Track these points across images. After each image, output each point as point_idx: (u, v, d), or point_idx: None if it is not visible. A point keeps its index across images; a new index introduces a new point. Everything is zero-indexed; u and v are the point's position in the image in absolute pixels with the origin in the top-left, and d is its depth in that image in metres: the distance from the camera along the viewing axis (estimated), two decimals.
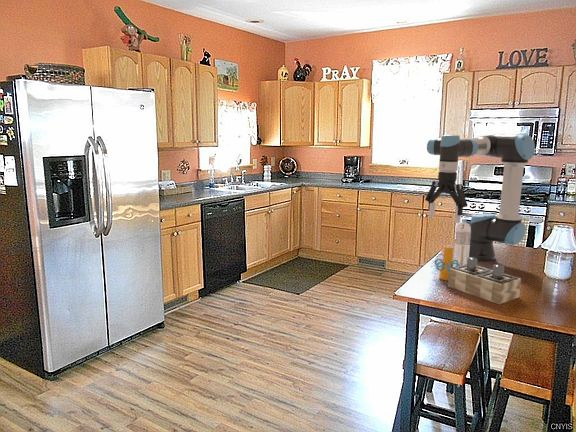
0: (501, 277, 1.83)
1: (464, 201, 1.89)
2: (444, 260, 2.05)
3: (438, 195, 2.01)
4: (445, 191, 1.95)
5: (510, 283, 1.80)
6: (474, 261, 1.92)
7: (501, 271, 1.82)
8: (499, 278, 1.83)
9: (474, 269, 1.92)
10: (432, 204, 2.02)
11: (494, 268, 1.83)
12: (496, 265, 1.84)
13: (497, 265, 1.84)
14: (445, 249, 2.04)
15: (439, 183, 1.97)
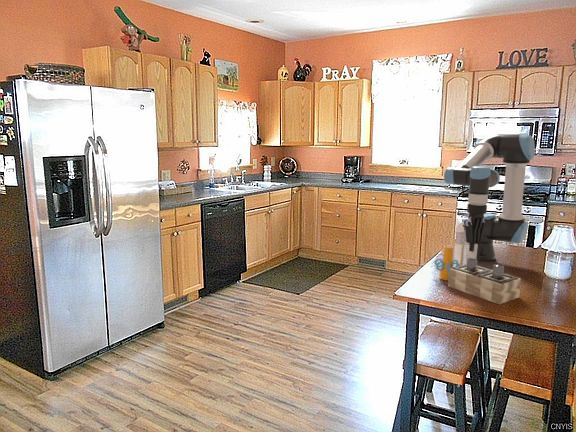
0: (501, 277, 1.83)
1: (468, 238, 1.89)
2: (444, 260, 2.05)
3: (477, 231, 1.91)
4: None
5: (510, 283, 1.80)
6: (474, 261, 1.92)
7: (501, 271, 1.82)
8: (499, 278, 1.83)
9: (474, 269, 1.92)
10: None
11: (494, 268, 1.83)
12: (496, 265, 1.84)
13: (497, 265, 1.84)
14: (445, 249, 2.04)
15: None
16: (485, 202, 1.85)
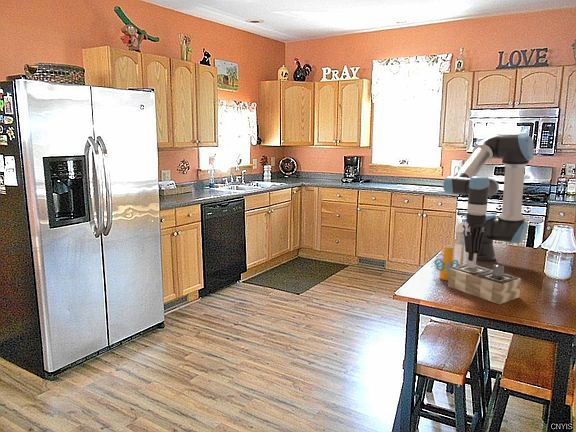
0: (501, 277, 1.83)
1: (467, 248, 1.90)
2: (444, 260, 2.05)
3: (476, 241, 1.92)
4: None
5: (510, 283, 1.80)
6: (473, 271, 1.93)
7: (501, 271, 1.82)
8: (499, 278, 1.83)
9: None
10: None
11: (494, 268, 1.83)
12: (496, 265, 1.84)
13: (497, 265, 1.84)
14: (445, 249, 2.04)
15: None
16: (484, 212, 1.86)
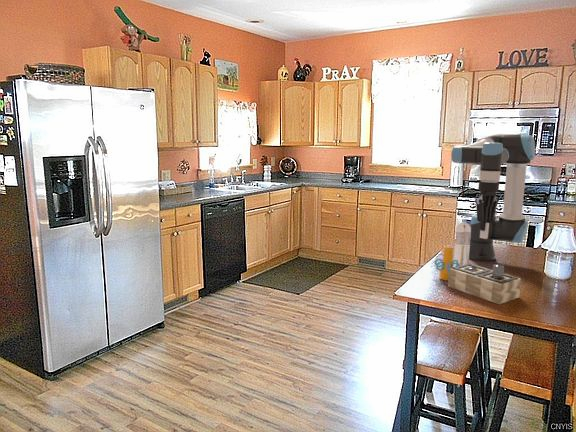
0: (501, 277, 1.83)
1: (479, 217, 1.84)
2: (444, 260, 2.05)
3: (488, 210, 1.85)
4: None
5: (510, 283, 1.80)
6: (473, 271, 1.93)
7: (501, 271, 1.82)
8: (499, 278, 1.83)
9: None
10: None
11: (494, 268, 1.83)
12: (496, 265, 1.84)
13: (497, 265, 1.84)
14: (445, 249, 2.04)
15: None
16: (497, 179, 1.80)
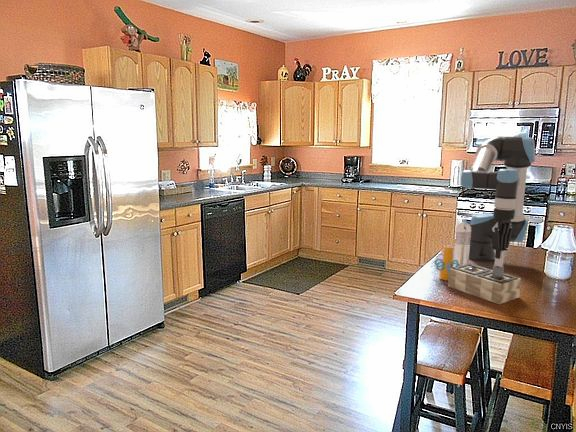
0: (501, 278, 1.83)
1: (494, 245, 1.80)
2: (444, 260, 2.05)
3: (503, 238, 1.81)
4: None
5: (510, 283, 1.80)
6: (473, 271, 1.93)
7: (501, 272, 1.82)
8: (499, 278, 1.83)
9: None
10: None
11: (494, 269, 1.83)
12: (496, 266, 1.84)
13: (497, 266, 1.84)
14: (445, 249, 2.04)
15: None
16: (513, 207, 1.76)
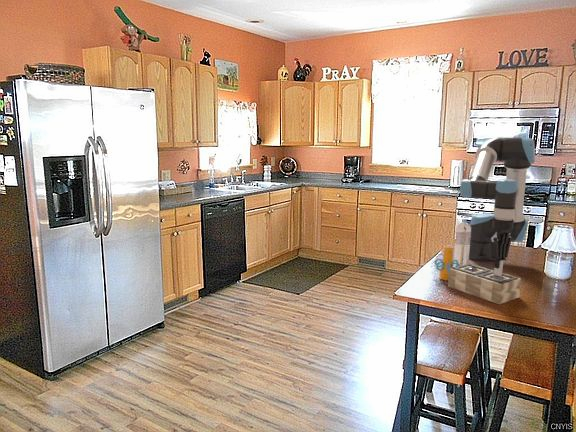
0: None
1: (494, 254, 1.80)
2: (444, 260, 2.05)
3: (502, 247, 1.82)
4: None
5: (510, 283, 1.80)
6: (473, 271, 1.93)
7: None
8: None
9: None
10: None
11: None
12: (495, 275, 1.85)
13: None
14: (445, 249, 2.04)
15: None
16: (512, 217, 1.76)
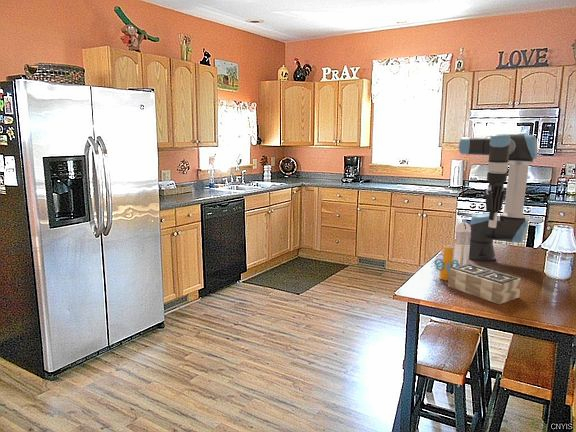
0: None
1: (488, 207, 1.90)
2: (444, 260, 2.05)
3: (496, 200, 1.91)
4: None
5: (510, 283, 1.80)
6: (473, 271, 1.93)
7: None
8: None
9: None
10: None
11: None
12: (495, 275, 1.85)
13: (496, 275, 1.85)
14: (445, 249, 2.04)
15: None
16: (505, 170, 1.85)
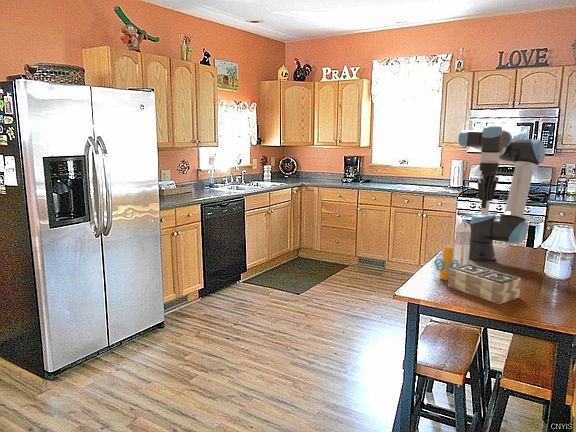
0: None
1: (480, 195, 1.99)
2: (444, 260, 2.05)
3: (489, 189, 2.01)
4: None
5: (510, 283, 1.80)
6: (473, 271, 1.93)
7: None
8: None
9: None
10: None
11: None
12: (495, 275, 1.85)
13: (496, 275, 1.85)
14: (445, 249, 2.04)
15: None
16: (497, 160, 1.95)
